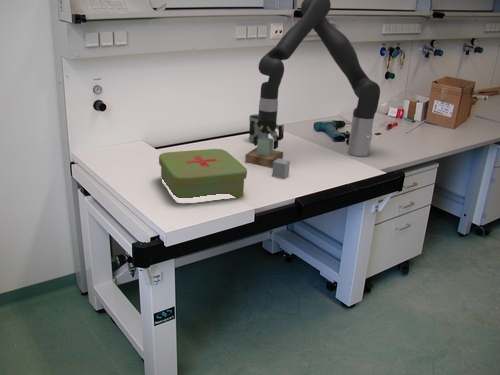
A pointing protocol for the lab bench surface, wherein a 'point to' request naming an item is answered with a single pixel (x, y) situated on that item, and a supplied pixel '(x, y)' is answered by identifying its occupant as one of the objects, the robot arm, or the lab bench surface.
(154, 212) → the lab bench surface
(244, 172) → the first aid kit
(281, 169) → the grey block
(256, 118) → the grey-green plant pot
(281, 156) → the walnut block
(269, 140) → the green block
